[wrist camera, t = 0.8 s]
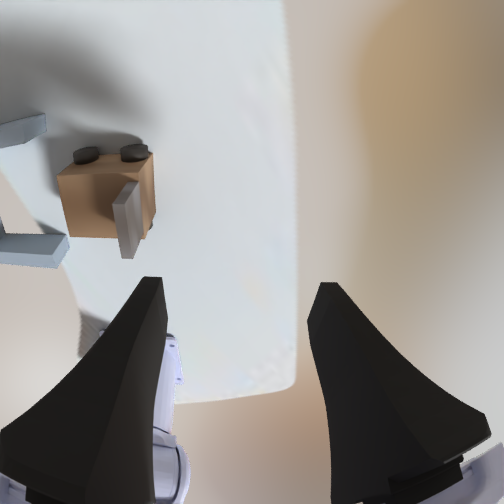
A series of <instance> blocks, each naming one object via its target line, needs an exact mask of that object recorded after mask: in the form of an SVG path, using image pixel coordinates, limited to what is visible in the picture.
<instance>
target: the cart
mask: <svg viewBox="0 0 504 504" xmlns="http://www.w3.org/2000/svg"><path fill="white" fill-rule="evenodd" d="M120 151H121V154H108V155H99V154H98V147H86V148H82V149H79V150H77V151H75V152H74V153H73V158H74V162H72V163H71V164H70V165H69V166H68V167H66V168H65V169H64V170H63V171H62V172H61V173H59V174H58V175H57V182H58V187H59V192H60V197H61V202H62V206H63V211H64V215H65V219H66V223H67V227H68V231H69V235H70V237H91V238H118V242H119V247H120V252H121V257H122V258H124V259H133V258H134V255H135V253H136V250H137V247H138V245H139V242H140V240H141V239H145V237H146V235H147V232H148V230H150V229H151V228H152V226H153V223H152V220H153V217H154V215H155V213H156V206H155V190H154V170H153V153H148V146H147V145H144V144H134V145H128V146H125V147H123V148H121V150H120Z"/></svg>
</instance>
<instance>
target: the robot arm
mask: <svg viewBox="0 0 504 504" xmlns="http://www.w3.org/2000/svg"><path fill="white" fill-rule="evenodd" d="M167 322H168V315H167V309H166V303H165V296H164V289H163V282H162V277H146V276H144V277H143V278H142V279H141V281H140V282H139V284H138V285H137V287H136V288H135V290H134V291H133V293H132V294H131V295H130V297H129V298H128V300H127V301H126V303H125V304H124V306H123V307H122V308H121V310H120V311H119V312H118V314H117V315H116V317H115V318H114V319H113V321H112V322H111V323H110V325H109V326H108V327H107V329H106V330H105V331H103V330H102V331H100V333H99V336H100V337H99V339H98V340H97V341H96V343H95V344H94V345H93V346H92V348H91V349H90V350H89V351H88V352H87V353H86V355H85V356H84V357H83V358H82V359H81V360H80V361H79V362H78V364H77V365H76V366H75V367H74V368H73V369H72V370H71V371H70V372H69V373H68V374H67V375H66V376H65V377H64V378H63V379H62V380H61V381H60V383H58V384H57V385H56V386H55V387H54V388H53V389H52V390H51V391H50V392H49V393H47V394H46V395H45V396H44V397H43V398H42V399H40V400H39V401H38V402H37V403H36V404H35V405H34V406H32V407H31V408H30V409H29V410H28V411H26V412H25V413H24V414H23V415H21V416H20V417H18V418H17V419H15V420H14V421H13V422H11V423H10V424H9V425H7V426H6V427H4V428H3V429H1V432H0V504H183V502H184V498H185V496H186V494H187V492H188V489H189V484H190V462H189V458H188V455H187V453H186V452H185V451H184V449H183V448H182V446H181V445H178V444H176V436H174V435H171V429H172V425H173V411H174V397H175V384H179V385H182V384H184V378H183V373H182V367H181V362H180V356H179V350H178V345H177V340H176V339H175V338H174V337H166V333H167ZM307 324H308V331H309V339H310V346H311V350H312V353H313V357H314V361H315V365H316V369H317V373H318V376H319V380H320V384H321V387H322V392H323V395H324V400H325V405H326V411H327V419H328V427H329V438H330V450H331V504H356V503H359V502H363V504H497V503H498V502H499V501H500V500H501V499H502V498H504V448H503V444H502V443H499V444H497V445H495V446H494V447H492V448H490V449H489V450H487V451H486V452H484V453H482V454H480V455H479V456H477V457H475V458H472V459H470V460H468V461H466V462H464V463H462V464H461V465H460V464H459V463H461V462H463V459H464V458H463V455H462V454H464V453H466V452H467V451H469V450H471V449H472V448H474V447H476V446H477V445H479V444H480V443H482V442H484V441H485V440H487V439H488V438H490V437H491V431H490V428H489V425H488V422H487V419H486V417H485V414H484V413H481V412H480V411H478V410H476V409H474V408H472V407H470V406H469V405H467V404H465V403H463V402H461V401H460V400H458V399H457V398H455V397H454V396H452V395H451V394H449V393H448V392H446V391H445V390H443V389H442V388H441V387H439V386H438V385H436V384H435V383H434V382H433V381H431V380H430V379H429V378H428V377H426V376H425V375H424V374H423V373H421V372H420V371H419V370H418V369H417V368H415V367H414V366H413V365H412V364H411V363H410V362H409V361H408V360H407V359H406V358H404V357H403V356H402V355H401V354H400V353H399V352H398V351H397V350H396V349H395V348H394V347H393V346H392V345H391V344H390V342H389V341H388V340H386V338H385V337H384V336H383V335H382V334H381V333H380V332H379V331H378V330H377V328H376V327H375V326H374V325H373V324H372V323H371V322H370V321H369V319H368V318H367V317H366V316H365V315H364V314H363V313H362V311H361V310H360V309H359V308H358V307H357V305H356V304H355V303H354V302H353V301H352V299H351V298H350V297H349V296H348V295H347V293H346V292H345V291H344V290H343V289H342V288H341V287H340V286H339V284H338V283H337V282H336V283H335V282H333V283H332V282H321V283H320V286H319V289H318V292H317V295H316V298H315V300H314V304H313V306H312V309H311V311H310V314H309V317H308V319H307Z"/></svg>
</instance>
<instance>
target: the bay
mask: <svg viewBox="0 0 504 504" xmlns="http://www.w3.org/2000/svg"><path fill="white" fill-rule="evenodd" d="M44 132H46V121H45V114H41V115H37V116H32V117H28V118H24V119H20V120H16V121H12V122H8V123H4V124H1V125H0V148H4V147H9V146H14V145H19V144H24V143H26V142H28V141H30V140H32V139H33V138H35V137H37V136H39V135H40V134H42V133H44ZM69 248H70V246H69V243H68V240H67V236H66V235H57V234H10V233H5V230H4V227H3V224H2V221H1V218H0V263H2V264H11V265H22V266H32V267H44V268H58V266H59V264H60V263H61V261H62V259H63V258H64V256H65V255H66V253H67V251H68V250H69Z"/></svg>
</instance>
